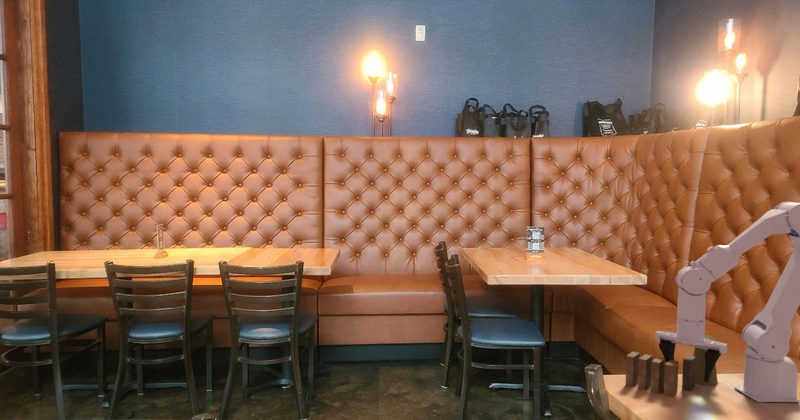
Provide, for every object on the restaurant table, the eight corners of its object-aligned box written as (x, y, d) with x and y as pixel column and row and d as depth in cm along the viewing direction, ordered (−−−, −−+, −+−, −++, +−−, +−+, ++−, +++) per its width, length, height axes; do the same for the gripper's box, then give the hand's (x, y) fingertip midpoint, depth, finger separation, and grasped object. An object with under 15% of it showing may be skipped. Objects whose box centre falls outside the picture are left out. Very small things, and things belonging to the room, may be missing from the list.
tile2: (677, 391, 118) (678, 361, 118) (671, 396, 115) (672, 366, 115) (669, 389, 120) (670, 359, 119) (663, 394, 116) (664, 364, 116)
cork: (722, 386, 122) (723, 340, 121) (693, 384, 123) (695, 338, 122) (712, 377, 128) (713, 333, 127) (685, 375, 129) (686, 331, 128)
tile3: (664, 388, 120) (665, 358, 120) (658, 393, 117) (659, 363, 117) (656, 386, 121) (657, 356, 121) (650, 391, 118) (651, 361, 118)
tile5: (639, 381, 124) (640, 352, 124) (632, 386, 121) (633, 357, 121) (632, 379, 125) (633, 351, 125) (625, 384, 122) (626, 355, 122)
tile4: (651, 384, 122) (652, 355, 122) (645, 390, 119) (646, 360, 119) (644, 383, 123) (645, 354, 123) (637, 388, 120) (638, 358, 120)
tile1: (694, 386, 122) (696, 356, 121) (689, 391, 119) (690, 361, 118) (687, 384, 123) (688, 355, 123) (681, 389, 120) (683, 359, 119)
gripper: (651, 316, 122) (649, 372, 123) (722, 328, 112) (720, 390, 113) (661, 311, 127) (659, 365, 128) (730, 322, 117) (727, 381, 118)
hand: (688, 376), depth 121 cm, fingers open, 7 cm apart
